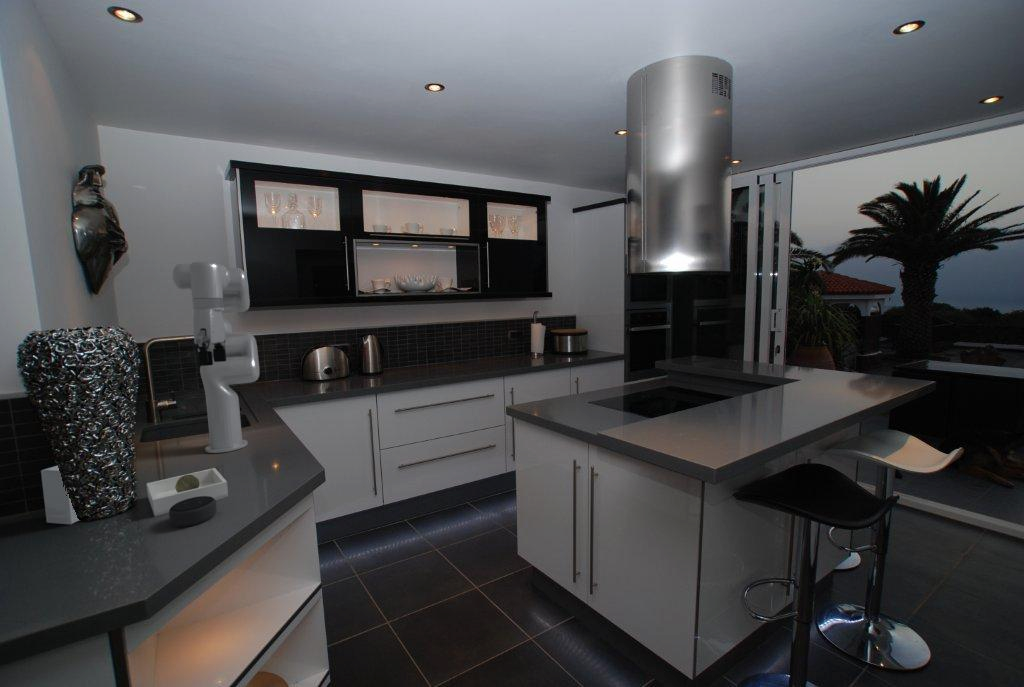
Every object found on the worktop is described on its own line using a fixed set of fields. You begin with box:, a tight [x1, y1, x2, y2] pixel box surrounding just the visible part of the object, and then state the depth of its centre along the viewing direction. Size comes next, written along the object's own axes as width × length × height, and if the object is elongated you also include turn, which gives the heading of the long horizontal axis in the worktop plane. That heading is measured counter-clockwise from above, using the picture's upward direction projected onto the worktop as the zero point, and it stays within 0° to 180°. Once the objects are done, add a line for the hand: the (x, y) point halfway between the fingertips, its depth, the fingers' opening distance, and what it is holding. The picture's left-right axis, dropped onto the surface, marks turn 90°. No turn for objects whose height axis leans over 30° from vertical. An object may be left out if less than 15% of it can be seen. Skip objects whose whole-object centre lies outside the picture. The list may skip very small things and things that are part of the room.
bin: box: [146, 467, 229, 517], centre depth 118 cm, size 15×15×4 cm
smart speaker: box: [168, 496, 218, 528], centre depth 106 cm, size 9×9×4 cm
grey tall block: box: [40, 465, 80, 525], centre depth 109 cm, size 7×7×13 cm
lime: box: [175, 474, 199, 493], centre depth 118 cm, size 4×5×5 cm
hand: (213, 363), depth 135 cm, fingers open, 9 cm apart
